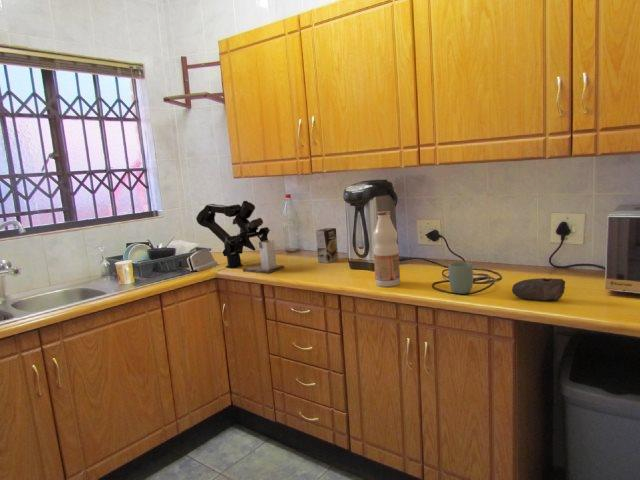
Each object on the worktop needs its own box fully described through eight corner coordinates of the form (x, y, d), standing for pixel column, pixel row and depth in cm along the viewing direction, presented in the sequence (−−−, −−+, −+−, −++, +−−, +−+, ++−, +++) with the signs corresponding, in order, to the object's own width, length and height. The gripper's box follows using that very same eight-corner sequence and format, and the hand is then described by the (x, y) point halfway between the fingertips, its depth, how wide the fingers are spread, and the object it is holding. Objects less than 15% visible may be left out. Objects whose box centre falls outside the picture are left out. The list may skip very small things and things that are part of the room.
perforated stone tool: (511, 300, 142) (510, 279, 140) (512, 295, 146) (512, 275, 145) (565, 304, 134) (565, 281, 133) (565, 299, 139) (565, 277, 138)
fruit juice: (378, 288, 167) (373, 214, 163) (373, 282, 177) (368, 211, 172) (403, 285, 168) (399, 211, 164) (396, 279, 177) (392, 209, 173)
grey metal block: (197, 271, 224) (190, 253, 224) (191, 274, 226) (183, 256, 226) (218, 264, 239) (211, 247, 239) (212, 267, 241) (205, 249, 241)
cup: (467, 296, 149) (467, 267, 147) (445, 294, 154) (444, 265, 152) (477, 290, 154) (476, 262, 153) (455, 288, 159) (454, 260, 158)
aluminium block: (261, 268, 212) (258, 242, 210) (269, 266, 216) (266, 240, 214) (268, 269, 209) (266, 242, 207) (276, 267, 213) (273, 240, 211)
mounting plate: (242, 271, 216) (242, 269, 216) (259, 265, 226) (259, 263, 226) (267, 273, 207) (267, 271, 207) (284, 267, 216) (284, 265, 216)
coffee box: (328, 263, 219) (325, 230, 216) (317, 262, 223) (315, 230, 220) (338, 259, 226) (336, 227, 223) (328, 258, 230) (326, 227, 227)
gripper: (236, 215, 207) (254, 240, 202) (265, 210, 221) (283, 233, 216) (227, 231, 213) (244, 256, 208) (256, 226, 227) (273, 248, 222)
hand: (262, 248), depth 213 cm, fingers open, 9 cm apart
